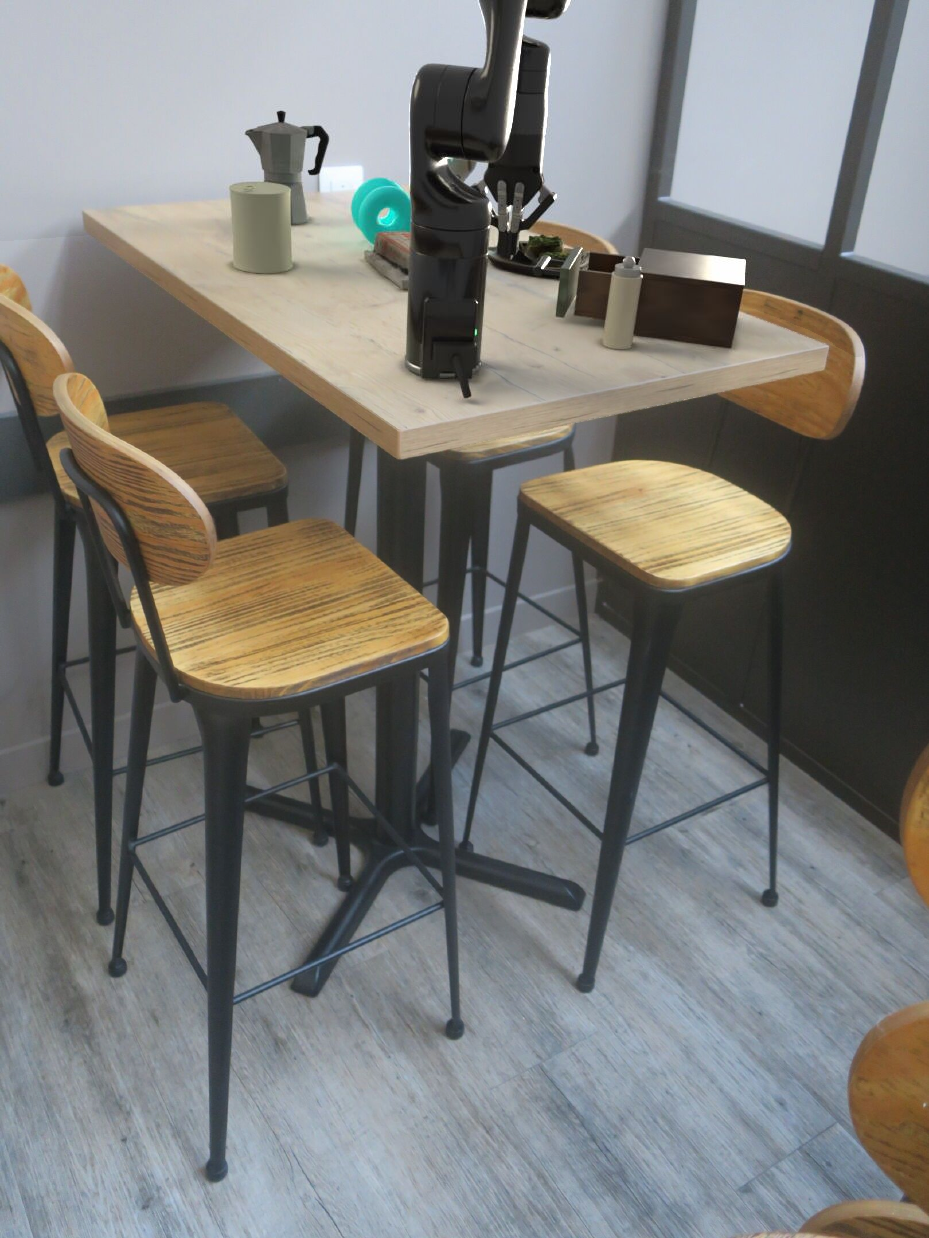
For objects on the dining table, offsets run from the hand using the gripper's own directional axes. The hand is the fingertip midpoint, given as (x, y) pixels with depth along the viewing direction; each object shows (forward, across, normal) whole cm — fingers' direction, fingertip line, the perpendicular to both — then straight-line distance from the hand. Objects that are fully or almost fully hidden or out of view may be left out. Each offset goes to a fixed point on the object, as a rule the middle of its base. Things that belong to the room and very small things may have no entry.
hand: (507, 257), depth 152 cm
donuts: (+7, -26, +26) cm, 37 cm away
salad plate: (+7, +1, +24) cm, 25 cm away
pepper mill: (+6, +18, -13) cm, 23 cm away
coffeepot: (+7, -47, +35) cm, 59 cm away
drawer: (+6, +13, 0) cm, 15 cm away
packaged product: (+7, -17, +9) cm, 20 cm away
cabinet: (+6, +26, 0) cm, 27 cm away
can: (+7, -39, +3) cm, 40 cm away
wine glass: (+7, -20, +50) cm, 54 cm away
